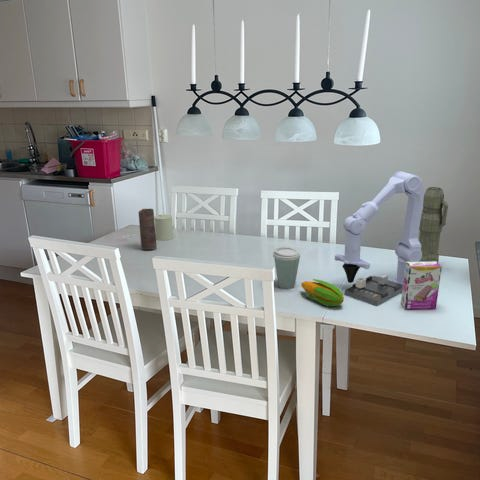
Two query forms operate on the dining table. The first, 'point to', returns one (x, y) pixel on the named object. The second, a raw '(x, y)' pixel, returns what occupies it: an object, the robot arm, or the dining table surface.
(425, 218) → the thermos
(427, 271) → the candy bar box
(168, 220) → the can
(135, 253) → the dining table surface
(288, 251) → the disposable coffee cup
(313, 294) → the corn
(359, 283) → the fader tab
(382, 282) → the fader
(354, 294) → the console
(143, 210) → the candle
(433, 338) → the dining table surface
